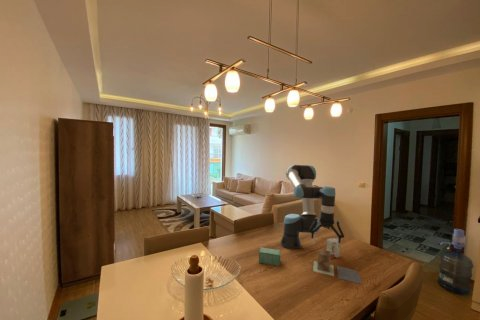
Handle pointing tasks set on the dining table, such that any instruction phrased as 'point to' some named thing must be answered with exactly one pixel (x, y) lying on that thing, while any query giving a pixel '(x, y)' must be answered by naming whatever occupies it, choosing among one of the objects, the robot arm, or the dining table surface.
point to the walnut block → (324, 260)
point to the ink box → (333, 247)
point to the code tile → (323, 271)
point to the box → (269, 256)
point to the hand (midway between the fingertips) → (325, 245)
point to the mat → (348, 275)
